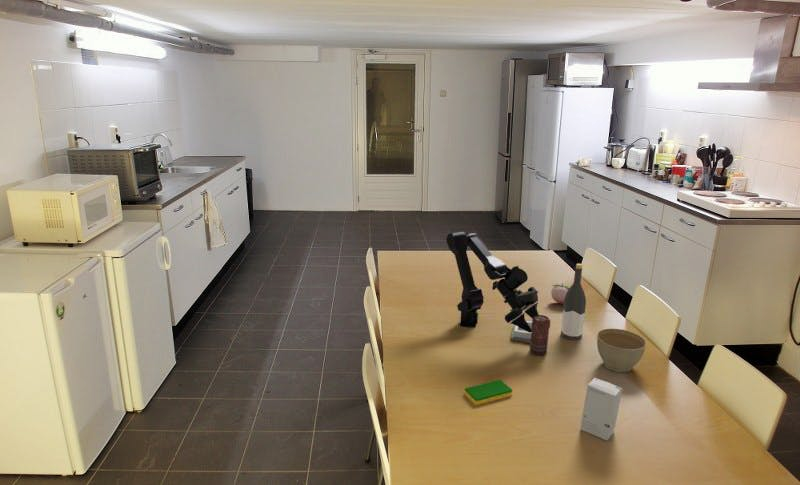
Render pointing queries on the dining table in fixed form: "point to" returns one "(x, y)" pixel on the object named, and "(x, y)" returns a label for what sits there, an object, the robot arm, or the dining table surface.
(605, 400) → the skincare box
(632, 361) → the planter bowl
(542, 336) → the can
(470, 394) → the dish sponge
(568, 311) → the wine bottle
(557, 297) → the decorative fruit
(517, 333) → the tray
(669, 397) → the dining table surface
